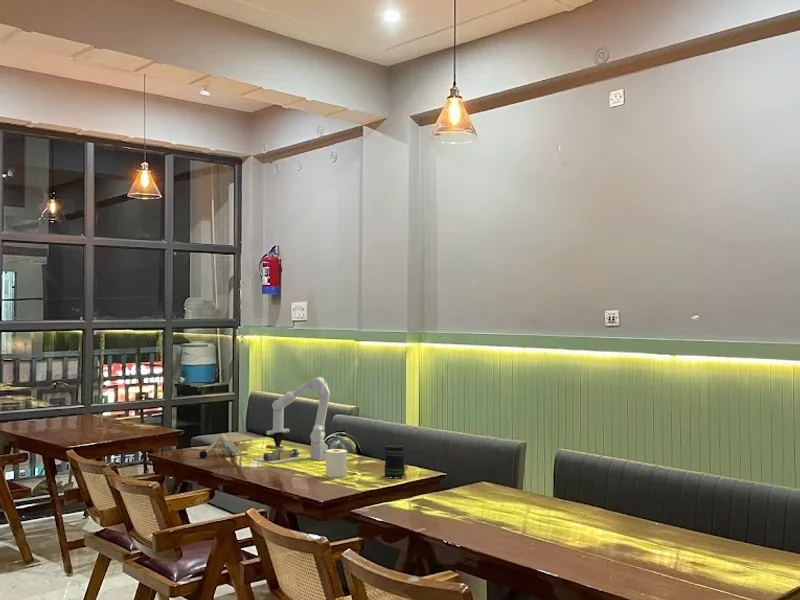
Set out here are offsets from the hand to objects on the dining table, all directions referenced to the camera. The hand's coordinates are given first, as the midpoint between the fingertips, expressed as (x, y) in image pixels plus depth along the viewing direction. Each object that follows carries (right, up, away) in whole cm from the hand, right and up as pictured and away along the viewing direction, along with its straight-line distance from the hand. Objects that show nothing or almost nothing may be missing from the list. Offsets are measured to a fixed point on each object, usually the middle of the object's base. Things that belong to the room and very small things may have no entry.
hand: (277, 446), depth 421 cm
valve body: (+3, -6, -8) cm, 10 cm away
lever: (0, -1, -5) cm, 5 cm away
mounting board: (+2, -6, -7) cm, 9 cm away
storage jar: (+64, -6, -48) cm, 80 cm away
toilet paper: (+36, -5, -48) cm, 60 cm away
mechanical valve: (-32, -5, -3) cm, 32 cm away
